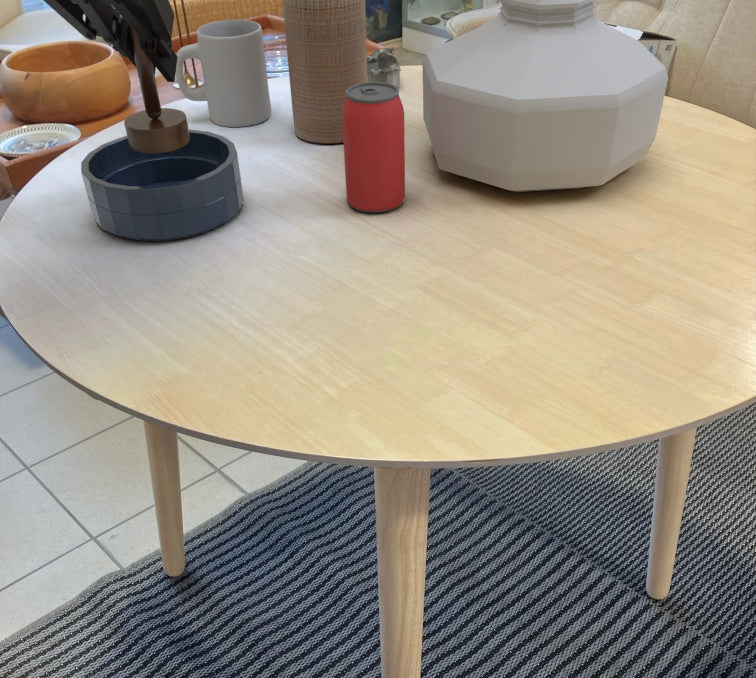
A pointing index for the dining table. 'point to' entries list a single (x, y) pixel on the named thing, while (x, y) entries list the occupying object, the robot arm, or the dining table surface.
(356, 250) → the dining table surface
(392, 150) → the beer can
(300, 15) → the vase
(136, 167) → the bowl
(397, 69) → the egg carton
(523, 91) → the pot
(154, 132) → the brown handled stamp
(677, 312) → the dining table surface
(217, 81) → the mug
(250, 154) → the dining table surface
